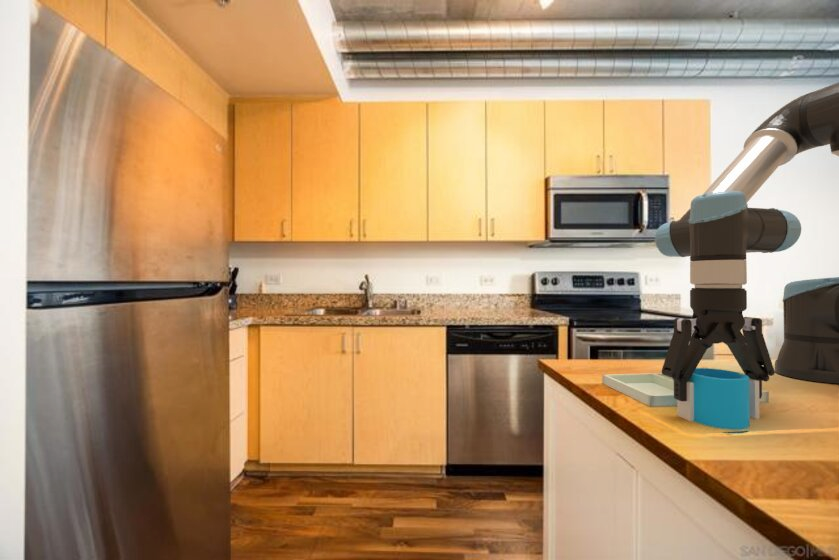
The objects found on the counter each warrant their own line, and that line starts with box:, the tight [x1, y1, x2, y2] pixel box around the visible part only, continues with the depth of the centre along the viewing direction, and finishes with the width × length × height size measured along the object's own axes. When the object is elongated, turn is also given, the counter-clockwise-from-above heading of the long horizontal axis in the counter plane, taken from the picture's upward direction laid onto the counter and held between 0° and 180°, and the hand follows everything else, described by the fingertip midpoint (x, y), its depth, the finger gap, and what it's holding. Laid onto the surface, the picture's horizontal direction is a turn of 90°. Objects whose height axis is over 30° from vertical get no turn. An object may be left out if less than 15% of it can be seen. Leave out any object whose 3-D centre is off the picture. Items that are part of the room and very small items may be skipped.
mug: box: [689, 367, 751, 434], centre depth 66 cm, size 12×8×8 cm
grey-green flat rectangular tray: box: [601, 372, 770, 408], centre depth 80 cm, size 23×16×2 cm
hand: (717, 419), depth 66 cm, fingers open, 11 cm apart
